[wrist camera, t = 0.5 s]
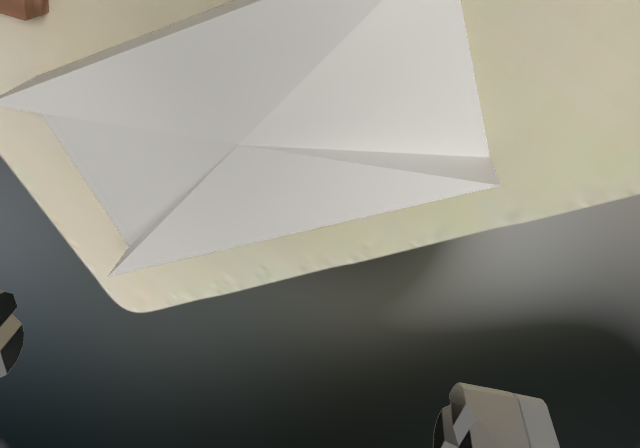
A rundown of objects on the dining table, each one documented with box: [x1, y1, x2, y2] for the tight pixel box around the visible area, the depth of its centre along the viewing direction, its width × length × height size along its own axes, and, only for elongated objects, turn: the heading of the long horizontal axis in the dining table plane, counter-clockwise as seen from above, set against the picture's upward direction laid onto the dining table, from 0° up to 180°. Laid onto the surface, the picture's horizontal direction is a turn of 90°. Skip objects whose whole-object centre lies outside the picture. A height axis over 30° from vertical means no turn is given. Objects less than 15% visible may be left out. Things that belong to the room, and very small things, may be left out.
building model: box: [0, 0, 501, 277], centre depth 51 cm, size 45×22×10 cm, turn 109°
